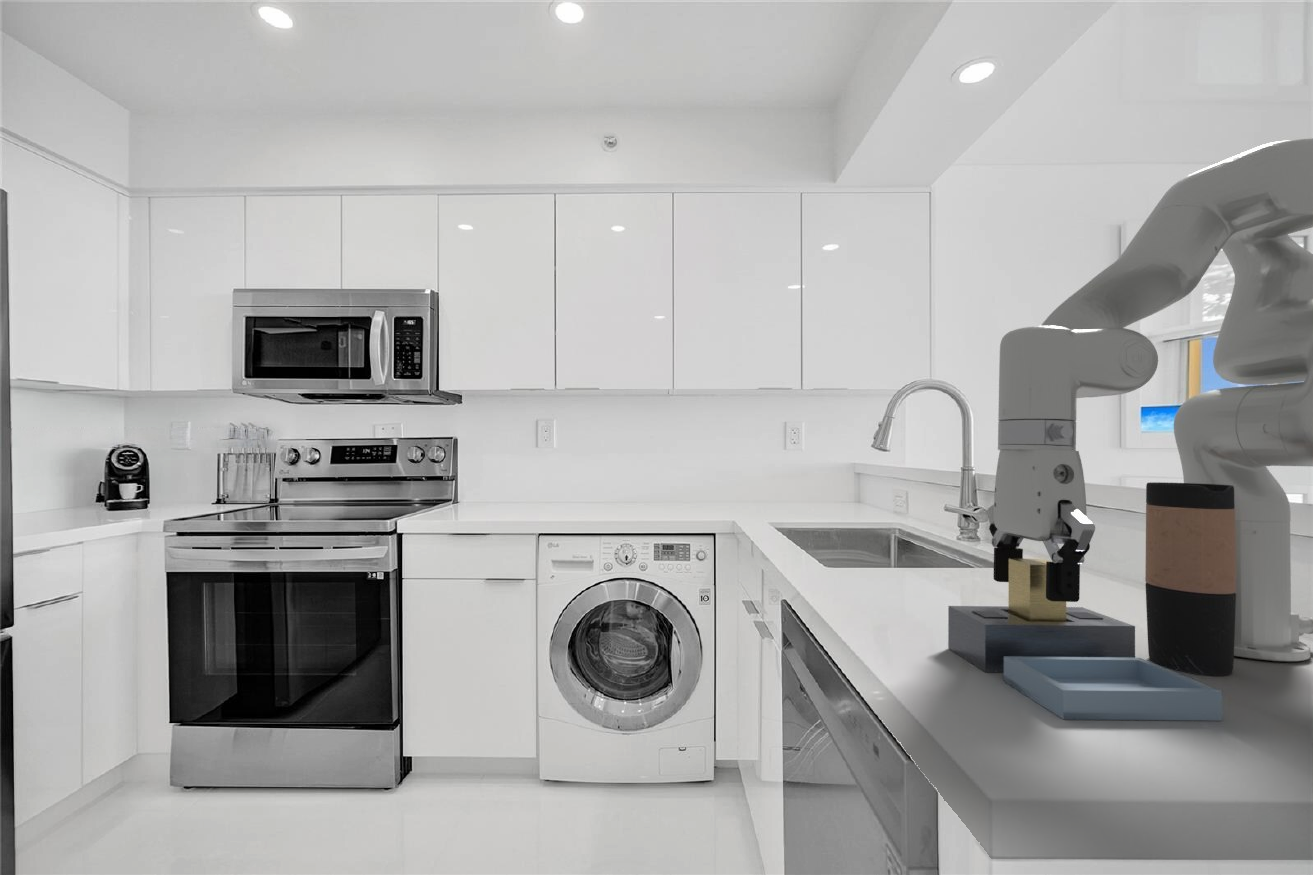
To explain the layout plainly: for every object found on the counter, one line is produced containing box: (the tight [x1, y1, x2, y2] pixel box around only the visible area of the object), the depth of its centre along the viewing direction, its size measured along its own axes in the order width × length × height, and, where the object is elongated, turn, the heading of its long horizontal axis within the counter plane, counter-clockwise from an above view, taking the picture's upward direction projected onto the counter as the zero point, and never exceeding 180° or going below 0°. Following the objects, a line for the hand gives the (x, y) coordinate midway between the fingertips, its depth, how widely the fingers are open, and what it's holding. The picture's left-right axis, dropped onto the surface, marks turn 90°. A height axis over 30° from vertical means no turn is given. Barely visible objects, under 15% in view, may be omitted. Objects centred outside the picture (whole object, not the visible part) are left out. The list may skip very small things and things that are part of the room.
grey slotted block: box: [947, 605, 1136, 674], centre depth 70 cm, size 16×8×5 cm, turn 91°
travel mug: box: [1144, 481, 1236, 677], centre depth 69 cm, size 8×8×20 cm
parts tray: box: [1003, 656, 1223, 722], centre depth 59 cm, size 14×9×2 cm, turn 91°
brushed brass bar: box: [1008, 558, 1067, 622], centre depth 70 cm, size 4×4×9 cm
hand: (1033, 590), depth 70 cm, fingers open, 9 cm apart
